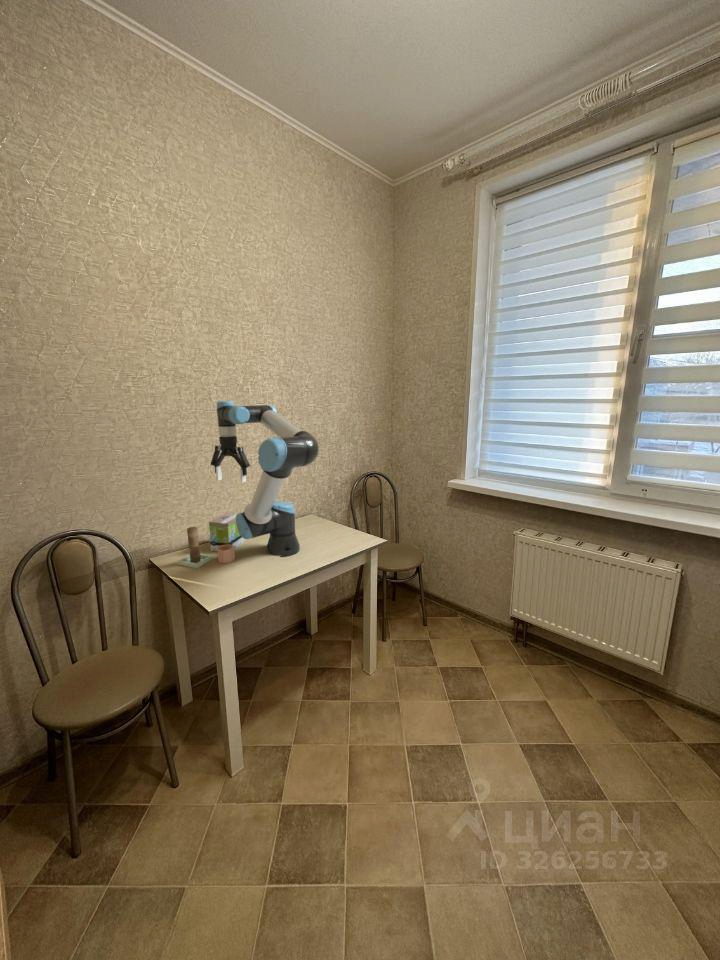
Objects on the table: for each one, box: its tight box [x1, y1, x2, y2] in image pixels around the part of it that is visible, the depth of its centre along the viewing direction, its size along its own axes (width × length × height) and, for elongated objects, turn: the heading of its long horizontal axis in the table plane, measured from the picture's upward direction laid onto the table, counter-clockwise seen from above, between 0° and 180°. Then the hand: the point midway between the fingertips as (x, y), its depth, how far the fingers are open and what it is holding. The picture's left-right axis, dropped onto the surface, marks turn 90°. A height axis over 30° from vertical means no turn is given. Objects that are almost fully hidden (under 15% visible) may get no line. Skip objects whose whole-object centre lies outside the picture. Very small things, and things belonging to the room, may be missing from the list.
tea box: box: [208, 512, 246, 552], centre depth 181 cm, size 15×10×15 cm, turn 168°
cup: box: [216, 544, 236, 564], centre depth 166 cm, size 7×7×6 cm
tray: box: [177, 553, 213, 569], centre depth 164 cm, size 10×9×2 cm
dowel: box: [186, 526, 201, 563], centre depth 162 cm, size 4×4×15 cm
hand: (231, 481), depth 178 cm, fingers open, 13 cm apart
